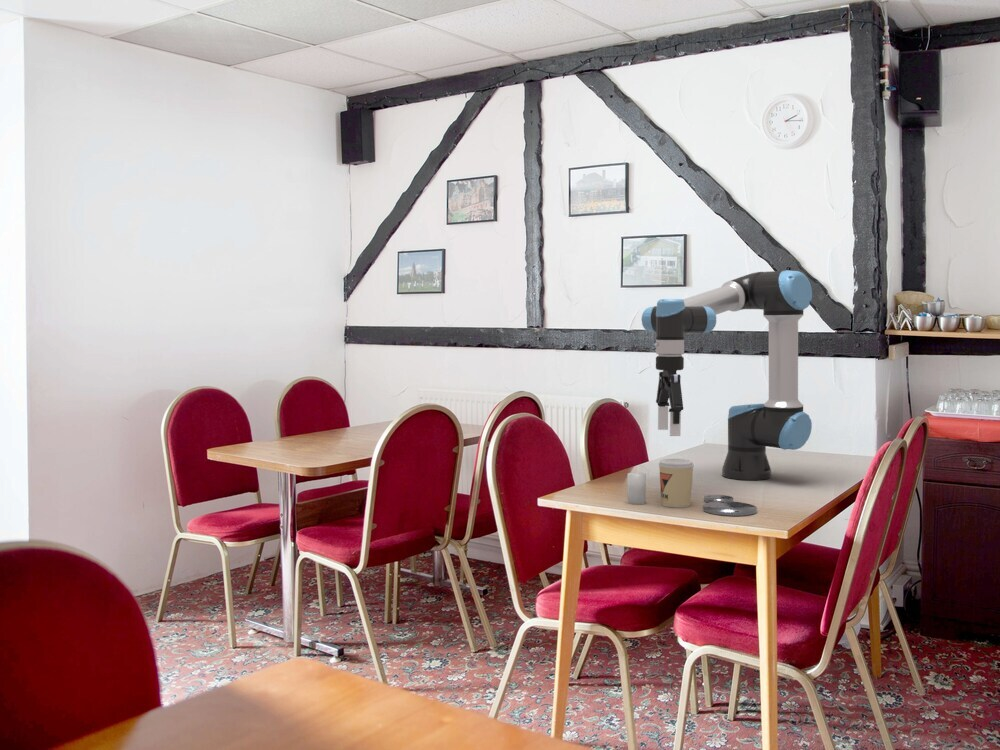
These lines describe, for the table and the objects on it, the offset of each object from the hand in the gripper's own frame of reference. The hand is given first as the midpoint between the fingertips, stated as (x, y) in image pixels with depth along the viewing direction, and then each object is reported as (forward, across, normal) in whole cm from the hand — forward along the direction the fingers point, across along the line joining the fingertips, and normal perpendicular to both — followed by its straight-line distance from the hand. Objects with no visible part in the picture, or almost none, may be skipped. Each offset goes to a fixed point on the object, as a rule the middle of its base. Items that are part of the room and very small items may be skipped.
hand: (668, 432), depth 253 cm
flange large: (+20, +11, +14) cm, 26 cm away
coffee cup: (+20, +2, +2) cm, 20 cm away
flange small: (+19, -1, +15) cm, 24 cm away
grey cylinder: (+20, -2, -8) cm, 21 cm away
